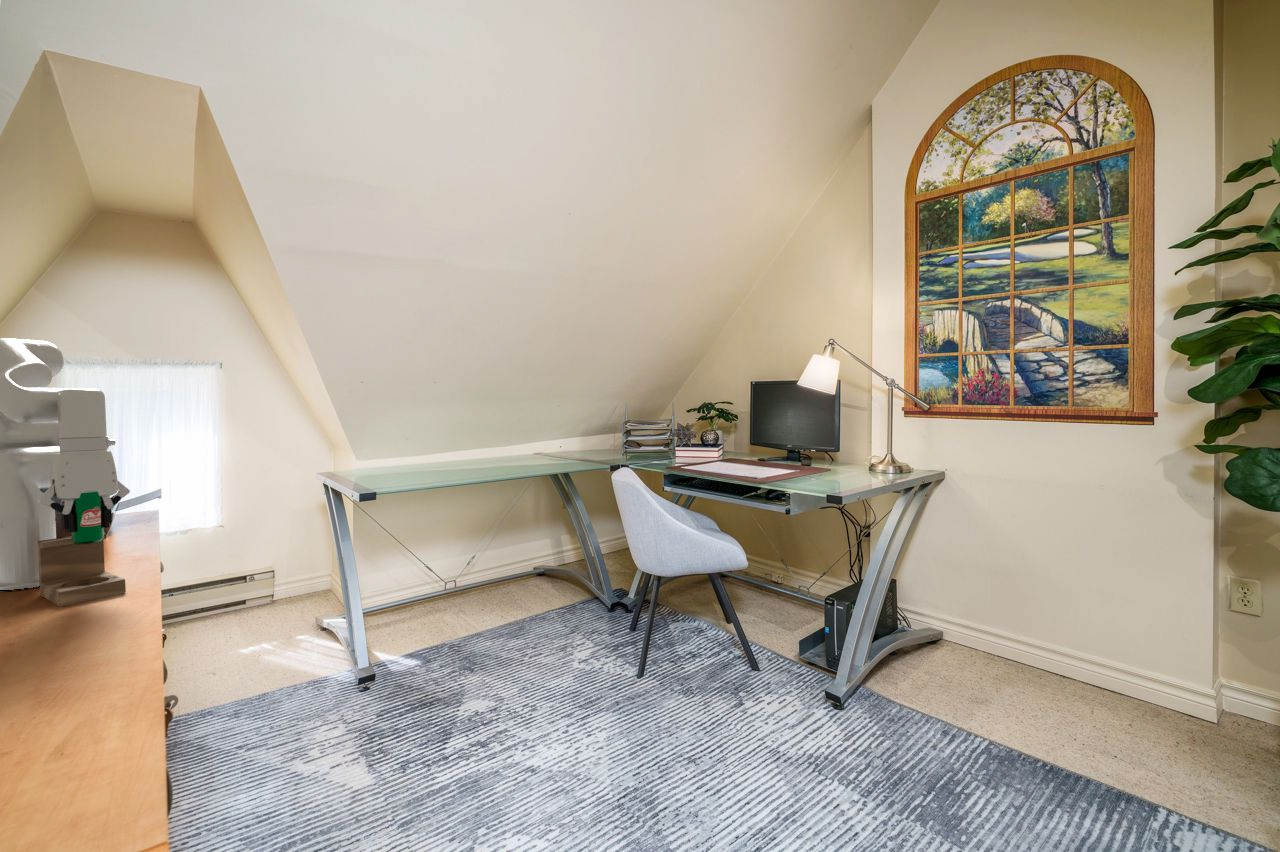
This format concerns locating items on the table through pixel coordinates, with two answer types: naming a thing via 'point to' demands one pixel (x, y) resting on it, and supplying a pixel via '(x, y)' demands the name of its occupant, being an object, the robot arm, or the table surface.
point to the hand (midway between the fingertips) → (87, 528)
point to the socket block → (75, 572)
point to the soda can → (88, 518)
